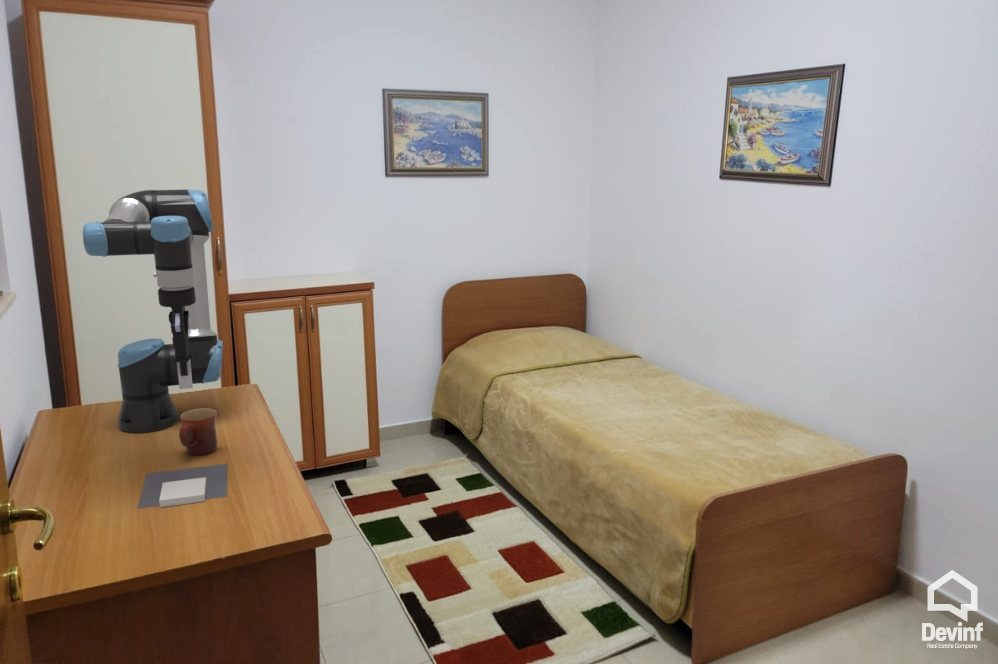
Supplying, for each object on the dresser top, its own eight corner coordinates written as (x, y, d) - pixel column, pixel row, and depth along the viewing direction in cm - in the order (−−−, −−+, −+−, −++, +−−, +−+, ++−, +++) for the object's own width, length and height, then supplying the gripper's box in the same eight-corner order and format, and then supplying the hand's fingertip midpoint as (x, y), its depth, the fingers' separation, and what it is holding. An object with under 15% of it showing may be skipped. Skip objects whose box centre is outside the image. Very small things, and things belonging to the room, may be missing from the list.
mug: (197, 443, 190) (193, 406, 187) (227, 446, 188) (224, 409, 186) (168, 462, 178) (163, 423, 176) (200, 466, 177) (196, 426, 174)
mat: (146, 475, 171) (146, 473, 171) (227, 465, 177) (227, 463, 177) (137, 510, 155) (137, 508, 155) (227, 498, 161) (226, 496, 161)
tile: (162, 482, 163) (159, 500, 155) (205, 477, 166) (204, 494, 158) (163, 489, 164) (159, 507, 155) (206, 483, 167) (205, 501, 158)
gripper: (160, 282, 165) (170, 380, 172) (154, 293, 154) (165, 398, 160) (195, 280, 168) (204, 377, 174) (192, 292, 156) (202, 395, 162)
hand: (186, 387), depth 167 cm, fingers closed
